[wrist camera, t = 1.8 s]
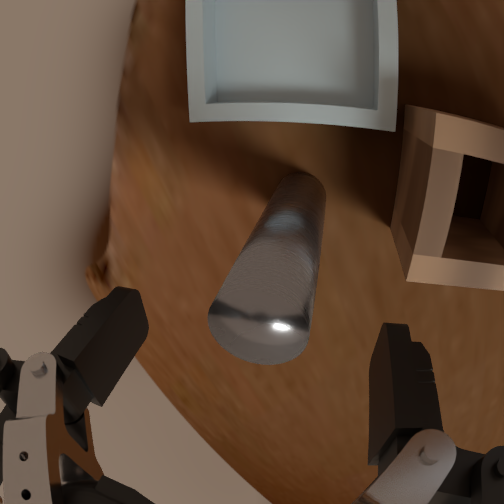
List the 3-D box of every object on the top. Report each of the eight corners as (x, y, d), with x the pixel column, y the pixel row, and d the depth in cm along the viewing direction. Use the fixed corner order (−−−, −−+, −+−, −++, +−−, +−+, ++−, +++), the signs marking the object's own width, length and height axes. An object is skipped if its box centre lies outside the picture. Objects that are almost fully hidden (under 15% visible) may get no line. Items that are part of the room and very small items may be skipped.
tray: (384, -40, 10) (390, -56, 8) (387, 126, 16) (395, 132, 14) (202, -37, 13) (186, -49, 11) (206, 117, 18) (189, 122, 16)
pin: (327, 174, 18) (314, 296, 8) (324, 222, 20) (303, 370, 10) (275, 170, 19) (202, 281, 9) (275, 217, 21) (213, 355, 11)
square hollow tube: (514, 131, 13) (567, 153, 8) (490, 242, 17) (525, 292, 12) (405, 104, 15) (436, 112, 10) (390, 228, 19) (406, 280, 14)
